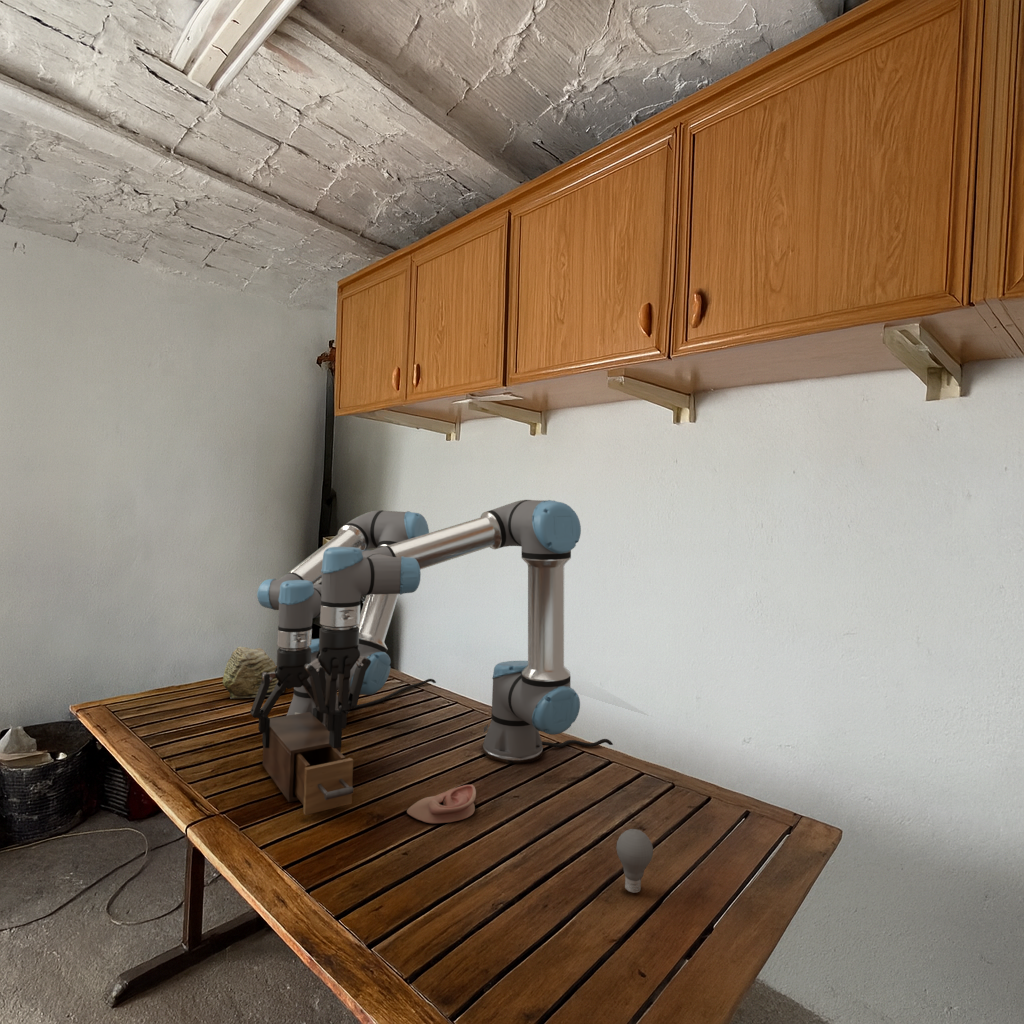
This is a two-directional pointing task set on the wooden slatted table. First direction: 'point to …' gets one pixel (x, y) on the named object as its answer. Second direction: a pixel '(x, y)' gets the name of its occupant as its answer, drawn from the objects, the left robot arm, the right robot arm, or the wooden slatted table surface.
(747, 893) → the wooden slatted table surface
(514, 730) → the right robot arm
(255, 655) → the fossil
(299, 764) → the drawer
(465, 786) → the anatomical model
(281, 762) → the cabinet
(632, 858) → the light bulb
